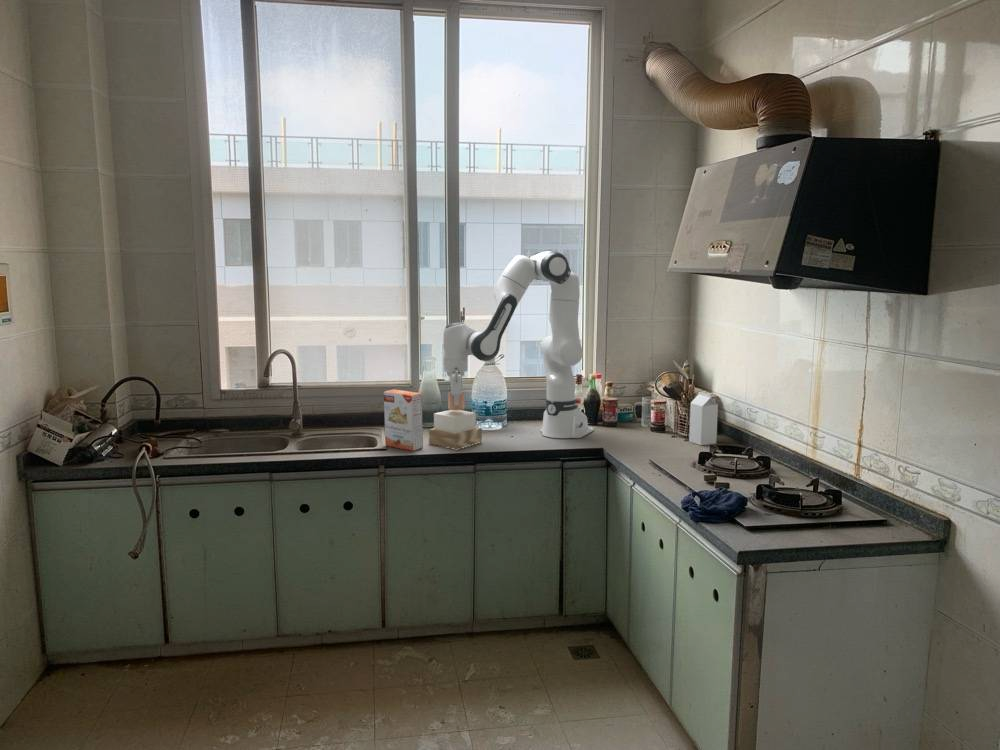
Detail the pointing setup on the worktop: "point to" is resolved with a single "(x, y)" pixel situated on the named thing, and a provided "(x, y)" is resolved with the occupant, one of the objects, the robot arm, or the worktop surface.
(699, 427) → the milk carton
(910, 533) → the worktop surface
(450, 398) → the pink cylinder
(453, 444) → the tower base
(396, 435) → the cracker box
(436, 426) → the tower top
